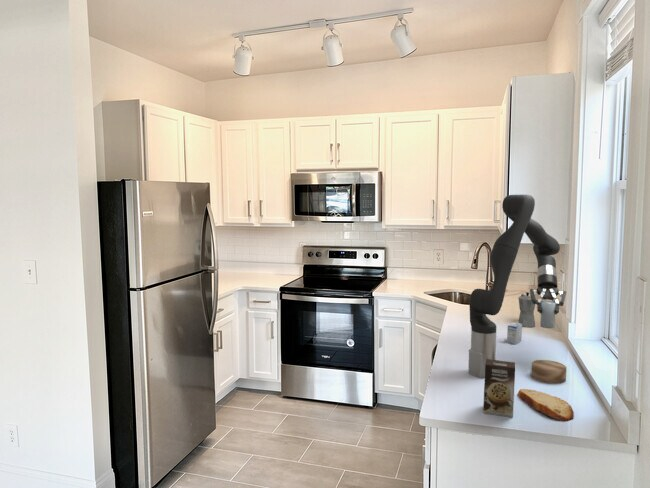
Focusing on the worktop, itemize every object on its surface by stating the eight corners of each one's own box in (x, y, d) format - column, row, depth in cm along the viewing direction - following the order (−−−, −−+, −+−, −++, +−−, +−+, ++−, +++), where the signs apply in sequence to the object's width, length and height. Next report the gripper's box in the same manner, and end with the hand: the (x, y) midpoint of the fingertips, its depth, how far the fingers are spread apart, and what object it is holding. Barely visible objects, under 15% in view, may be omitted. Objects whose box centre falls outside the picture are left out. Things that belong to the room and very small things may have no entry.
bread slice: (518, 392, 169) (518, 382, 168) (575, 402, 160) (576, 392, 159) (509, 411, 153) (510, 400, 153) (572, 425, 144) (573, 413, 144)
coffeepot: (540, 328, 249) (541, 294, 247) (521, 328, 249) (522, 294, 248) (529, 321, 264) (530, 289, 262) (512, 321, 265) (513, 289, 263)
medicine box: (512, 339, 231) (512, 321, 230) (521, 341, 228) (522, 323, 227) (506, 343, 225) (507, 325, 224) (516, 345, 222) (517, 326, 221)
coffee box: (482, 413, 151) (484, 364, 150) (483, 405, 157) (485, 358, 156) (513, 418, 148) (515, 367, 146) (513, 409, 154) (515, 361, 152)
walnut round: (552, 386, 173) (552, 373, 173) (524, 375, 184) (524, 363, 183) (572, 380, 179) (573, 367, 179) (544, 370, 190) (545, 358, 189)
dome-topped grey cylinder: (540, 327, 191) (541, 303, 190) (539, 324, 195) (540, 300, 194) (555, 328, 189) (556, 304, 188) (553, 325, 194) (554, 301, 193)
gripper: (529, 272, 200) (529, 306, 190) (567, 273, 194) (569, 309, 184) (528, 282, 205) (528, 316, 195) (565, 284, 200) (567, 319, 190)
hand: (548, 312), depth 190 cm, fingers closed on dome-topped grey cylinder, 5 cm apart
